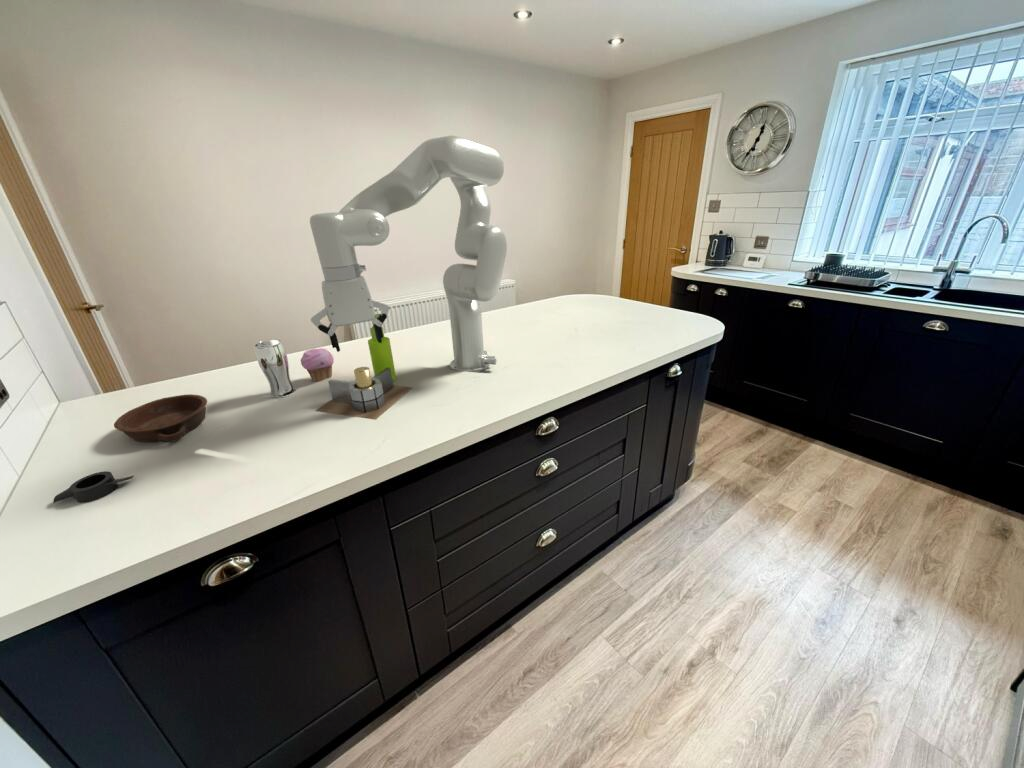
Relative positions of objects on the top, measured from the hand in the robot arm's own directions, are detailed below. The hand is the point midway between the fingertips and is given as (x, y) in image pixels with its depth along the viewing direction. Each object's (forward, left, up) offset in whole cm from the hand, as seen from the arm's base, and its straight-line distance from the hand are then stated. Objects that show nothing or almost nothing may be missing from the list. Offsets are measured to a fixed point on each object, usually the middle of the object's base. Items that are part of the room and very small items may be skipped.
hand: (359, 345), depth 94 cm
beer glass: (+30, -1, -17) cm, 35 cm away
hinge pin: (0, +1, -16) cm, 16 cm away
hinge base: (+3, -2, -17) cm, 18 cm away
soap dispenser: (+5, -15, -17) cm, 24 cm away
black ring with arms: (+32, +42, -18) cm, 56 cm away
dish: (+43, +21, -18) cm, 51 cm away
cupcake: (+25, -11, -17) cm, 33 cm away
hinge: (+4, -3, -16) cm, 17 cm away
